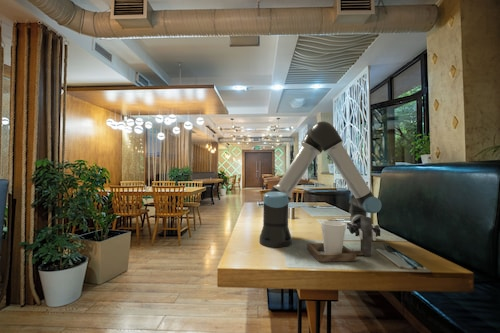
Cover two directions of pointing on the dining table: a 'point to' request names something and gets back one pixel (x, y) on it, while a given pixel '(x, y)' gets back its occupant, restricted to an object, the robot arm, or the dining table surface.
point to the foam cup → (333, 236)
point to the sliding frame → (346, 253)
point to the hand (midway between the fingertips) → (367, 236)
